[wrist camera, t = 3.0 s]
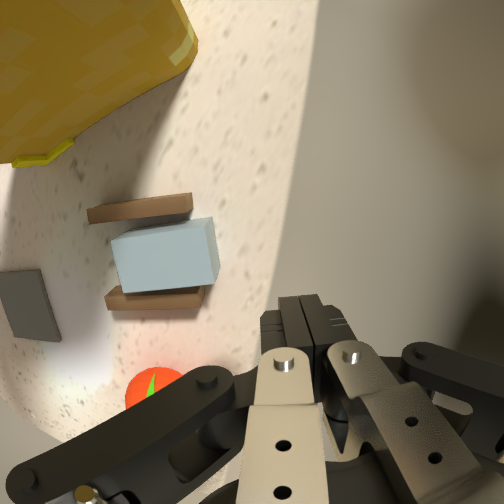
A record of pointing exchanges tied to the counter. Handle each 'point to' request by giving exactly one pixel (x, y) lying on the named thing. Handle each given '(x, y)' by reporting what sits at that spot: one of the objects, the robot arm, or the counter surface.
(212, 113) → the counter surface
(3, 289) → the mat
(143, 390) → the clementine
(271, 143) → the counter surface
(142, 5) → the book
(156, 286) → the block
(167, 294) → the slot
